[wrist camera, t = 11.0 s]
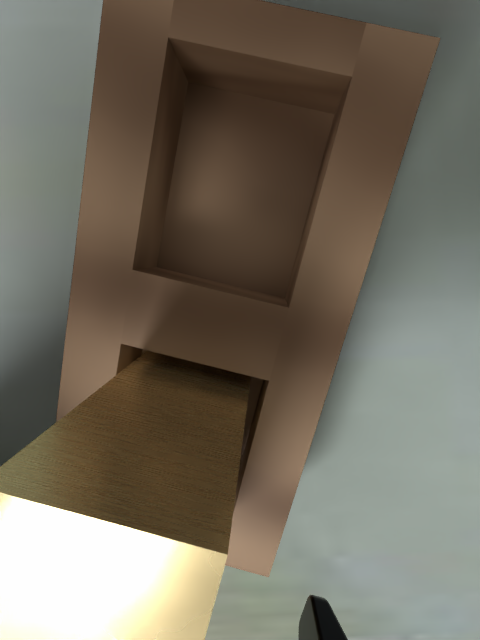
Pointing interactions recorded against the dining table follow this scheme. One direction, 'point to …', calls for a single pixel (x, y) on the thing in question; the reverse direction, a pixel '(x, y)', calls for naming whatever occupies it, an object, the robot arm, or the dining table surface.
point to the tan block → (124, 508)
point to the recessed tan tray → (237, 212)
